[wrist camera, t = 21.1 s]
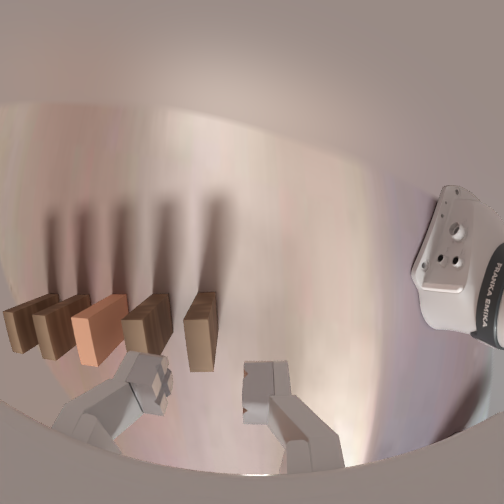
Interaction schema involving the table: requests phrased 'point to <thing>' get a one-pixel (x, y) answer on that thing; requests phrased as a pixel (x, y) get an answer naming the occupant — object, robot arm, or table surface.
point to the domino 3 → (100, 329)
